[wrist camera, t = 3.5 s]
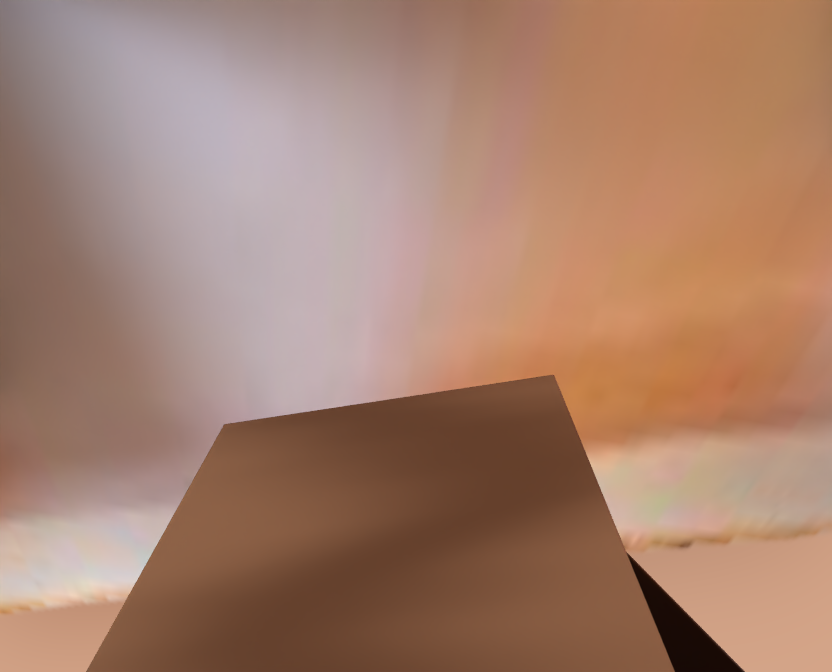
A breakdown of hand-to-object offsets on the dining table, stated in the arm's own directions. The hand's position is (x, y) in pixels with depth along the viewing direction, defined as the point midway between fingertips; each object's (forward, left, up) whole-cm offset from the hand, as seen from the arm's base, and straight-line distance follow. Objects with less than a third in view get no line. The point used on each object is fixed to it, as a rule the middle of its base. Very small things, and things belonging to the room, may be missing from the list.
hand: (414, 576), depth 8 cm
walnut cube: (0, 0, -1) cm, 1 cm away
